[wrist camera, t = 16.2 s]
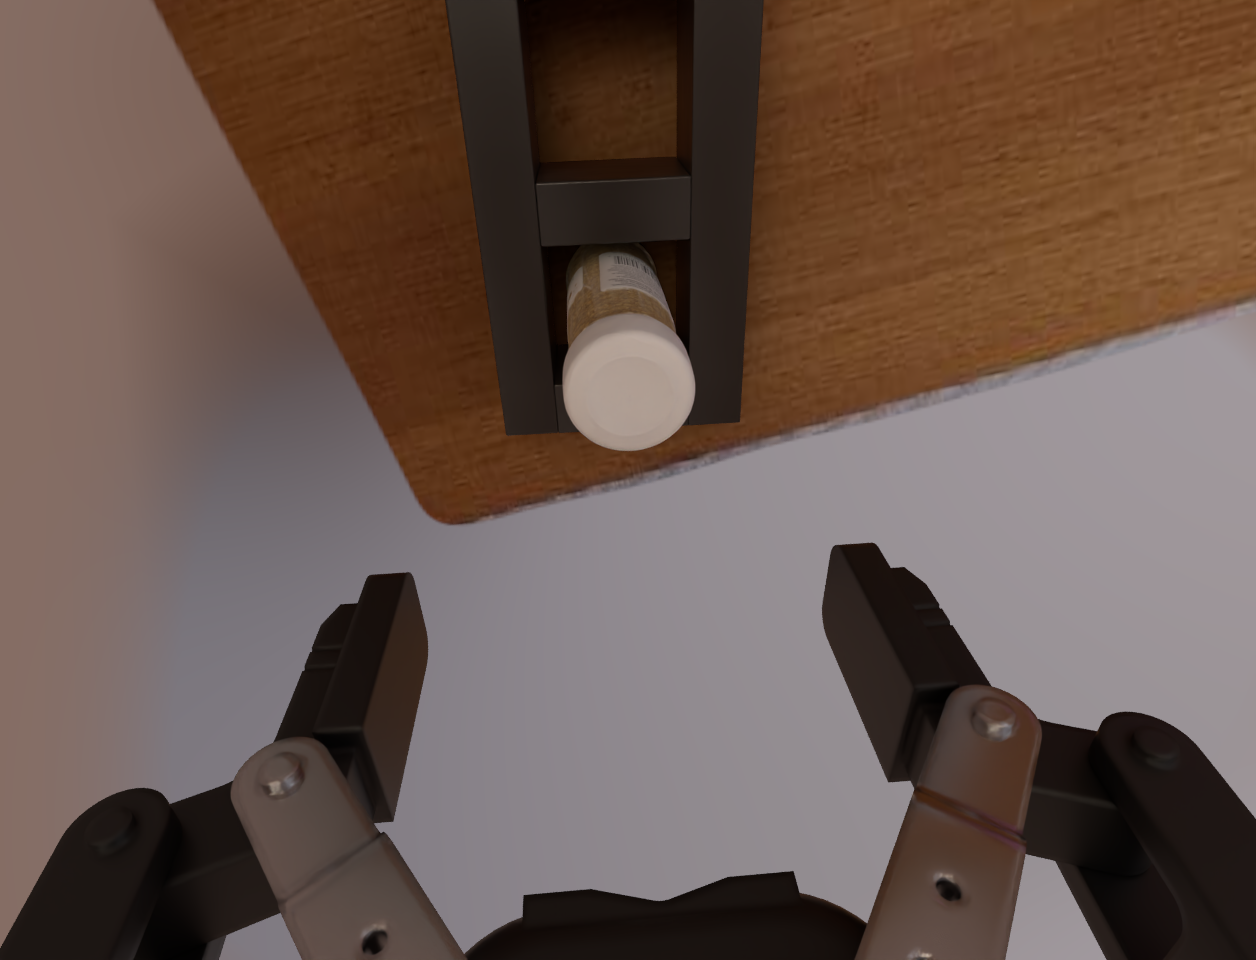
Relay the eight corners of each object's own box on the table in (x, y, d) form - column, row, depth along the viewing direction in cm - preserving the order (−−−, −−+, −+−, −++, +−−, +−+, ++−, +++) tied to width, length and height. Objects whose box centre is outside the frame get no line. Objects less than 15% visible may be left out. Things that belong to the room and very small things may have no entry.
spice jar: (546, 275, 35) (533, 393, 24) (616, 210, 34) (637, 303, 23) (608, 341, 37) (624, 478, 26) (677, 282, 36) (724, 400, 25)
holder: (513, 391, 39) (506, 436, 34) (452, -78, 28) (431, -97, 24) (722, 379, 39) (740, 422, 35) (740, -88, 28) (770, -108, 24)
